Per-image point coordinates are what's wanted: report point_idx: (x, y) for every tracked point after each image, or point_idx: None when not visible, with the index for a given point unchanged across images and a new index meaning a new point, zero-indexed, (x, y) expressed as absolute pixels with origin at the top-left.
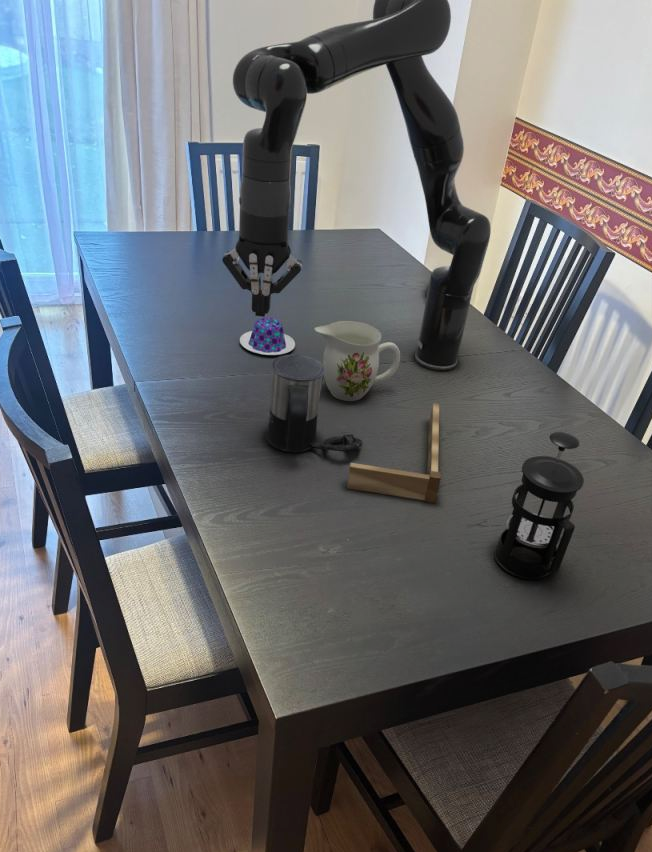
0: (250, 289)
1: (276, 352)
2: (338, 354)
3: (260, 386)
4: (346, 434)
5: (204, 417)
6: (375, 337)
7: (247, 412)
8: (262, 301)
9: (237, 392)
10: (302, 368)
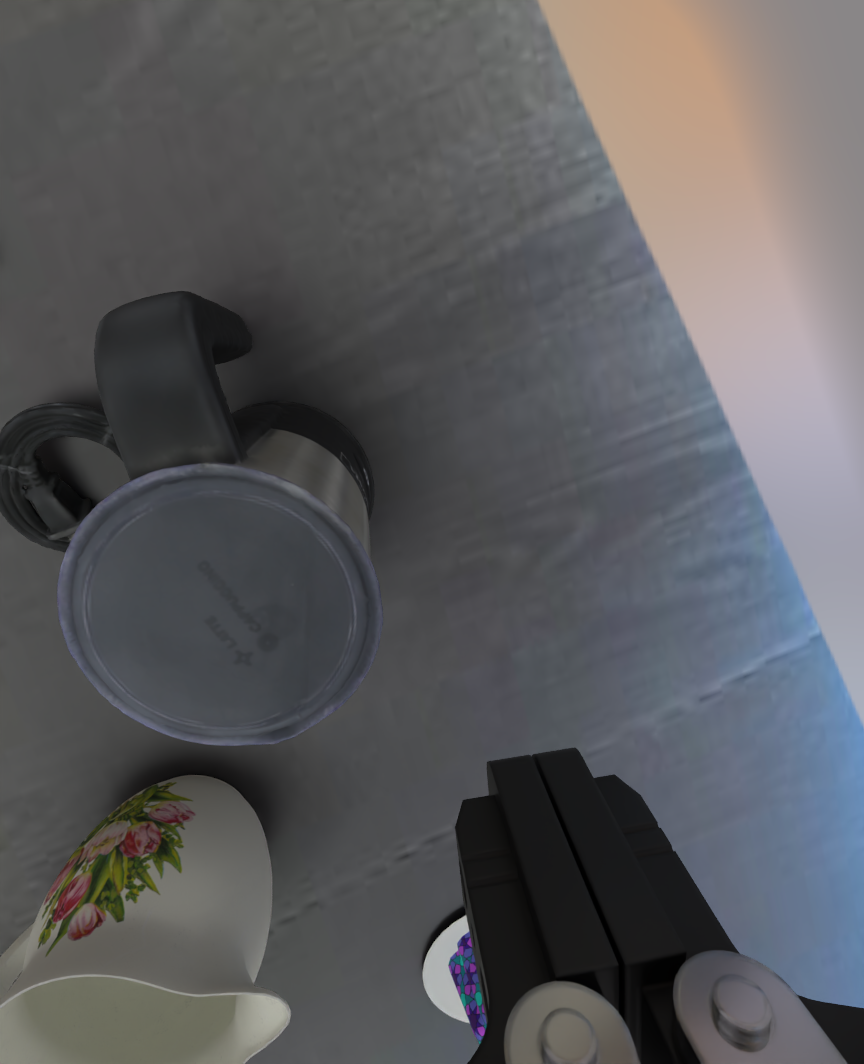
0: (813, 1024)
1: (468, 930)
2: (172, 912)
3: (468, 748)
4: (71, 531)
5: (595, 516)
6: None
7: (470, 594)
8: (561, 892)
9: (528, 690)
10: (193, 608)
